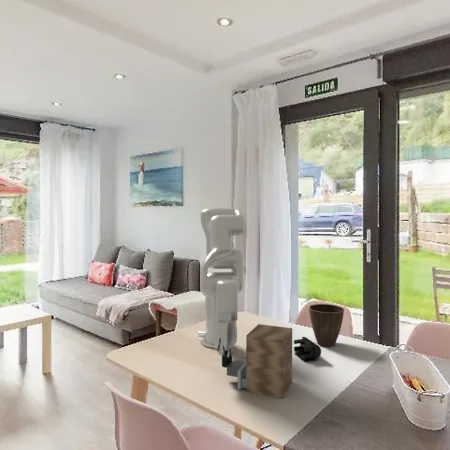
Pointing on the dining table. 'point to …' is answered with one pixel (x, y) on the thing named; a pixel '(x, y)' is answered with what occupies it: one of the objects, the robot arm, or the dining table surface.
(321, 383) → the dining table surface
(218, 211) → the robot arm
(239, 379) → the tray
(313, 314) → the plant pot
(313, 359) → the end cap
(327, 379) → the dining table surface
